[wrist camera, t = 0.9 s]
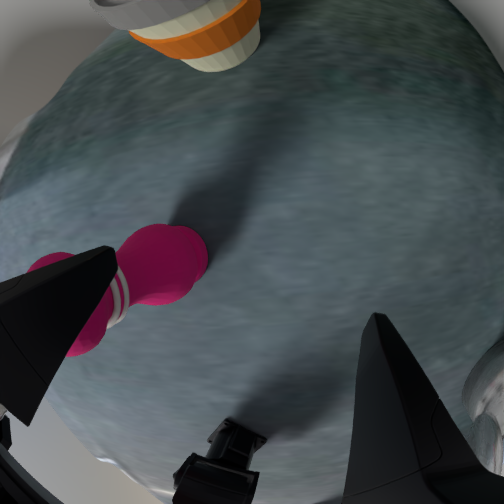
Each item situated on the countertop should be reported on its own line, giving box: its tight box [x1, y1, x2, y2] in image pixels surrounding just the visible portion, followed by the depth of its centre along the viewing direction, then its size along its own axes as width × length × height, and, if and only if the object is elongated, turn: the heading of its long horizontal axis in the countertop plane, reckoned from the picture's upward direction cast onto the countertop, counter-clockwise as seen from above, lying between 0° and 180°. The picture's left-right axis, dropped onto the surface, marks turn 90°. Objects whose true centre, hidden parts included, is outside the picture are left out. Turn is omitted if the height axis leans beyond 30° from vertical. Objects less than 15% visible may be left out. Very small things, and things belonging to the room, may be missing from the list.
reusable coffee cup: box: [89, 0, 261, 72], centre depth 16 cm, size 13×13×15 cm
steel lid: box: [467, 412, 503, 476], centre depth 9 cm, size 18×13×1 cm
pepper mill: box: [27, 224, 208, 357], centre depth 18 cm, size 7×7×20 cm
